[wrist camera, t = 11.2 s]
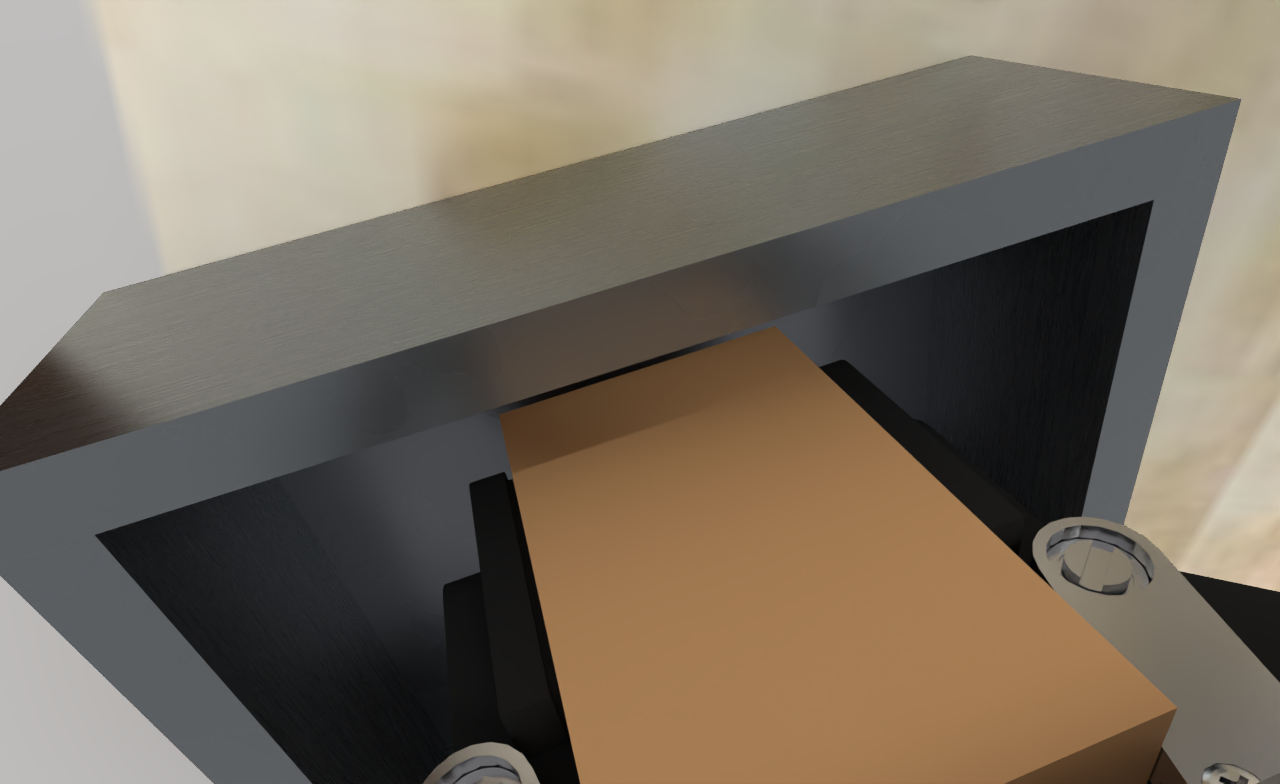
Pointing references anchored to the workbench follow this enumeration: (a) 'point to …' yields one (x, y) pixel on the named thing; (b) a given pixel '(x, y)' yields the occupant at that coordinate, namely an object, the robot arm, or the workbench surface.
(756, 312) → the well box
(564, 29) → the workbench surface
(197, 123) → the workbench surface
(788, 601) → the tan stepped block
